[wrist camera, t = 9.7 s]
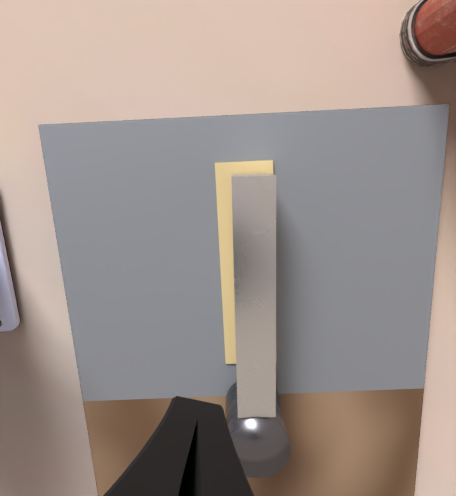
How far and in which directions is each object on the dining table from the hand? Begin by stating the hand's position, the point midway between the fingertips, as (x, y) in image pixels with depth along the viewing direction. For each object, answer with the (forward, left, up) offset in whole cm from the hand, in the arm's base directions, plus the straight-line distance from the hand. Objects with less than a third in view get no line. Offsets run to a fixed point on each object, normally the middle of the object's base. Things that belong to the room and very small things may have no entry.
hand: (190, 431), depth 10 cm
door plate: (+2, +2, -9) cm, 10 cm away
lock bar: (+2, 0, -8) cm, 8 cm away
